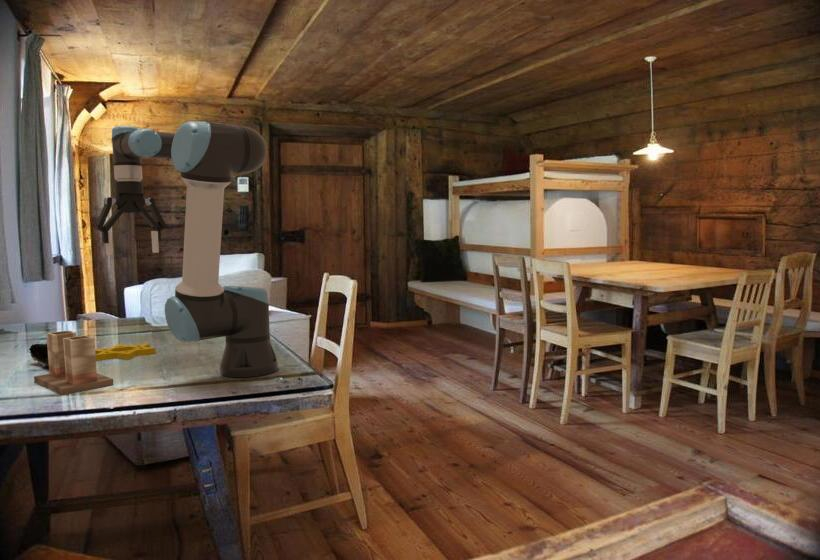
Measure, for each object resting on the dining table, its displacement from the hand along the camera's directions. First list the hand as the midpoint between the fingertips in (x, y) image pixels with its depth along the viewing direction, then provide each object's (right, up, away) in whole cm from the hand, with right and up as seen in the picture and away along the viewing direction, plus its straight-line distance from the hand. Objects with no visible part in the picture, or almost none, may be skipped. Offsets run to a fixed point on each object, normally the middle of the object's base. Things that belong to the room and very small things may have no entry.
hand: (133, 253), depth 188 cm
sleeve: (0, -33, -29) cm, 44 cm away
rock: (-20, -33, 0) cm, 38 cm away
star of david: (-8, -32, +11) cm, 34 cm away
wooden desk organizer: (-5, -34, -25) cm, 42 cm away
